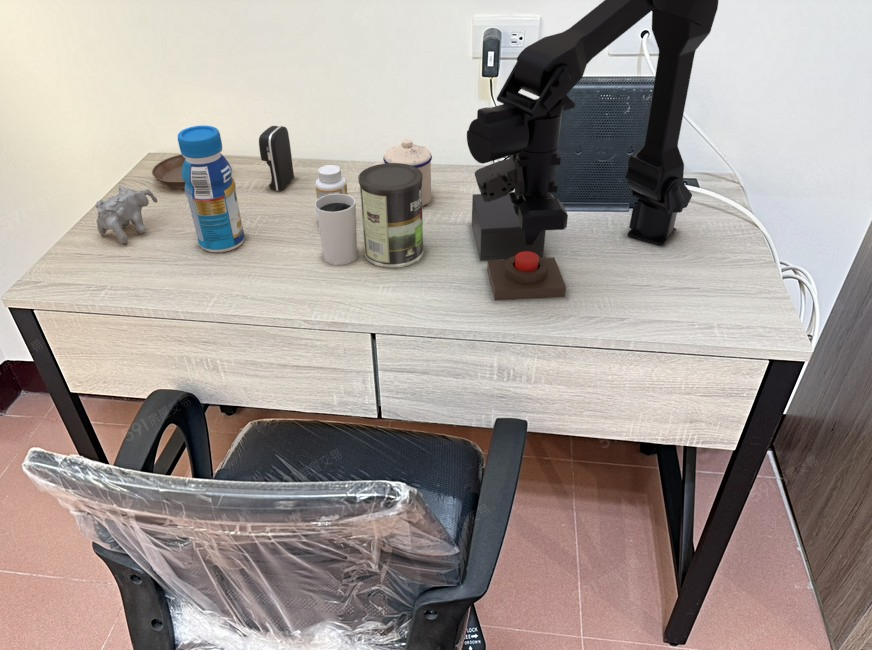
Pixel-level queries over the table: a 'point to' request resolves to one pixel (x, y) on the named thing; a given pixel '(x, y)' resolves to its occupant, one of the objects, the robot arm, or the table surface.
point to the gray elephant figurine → (122, 212)
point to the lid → (496, 214)
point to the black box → (503, 242)
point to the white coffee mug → (337, 228)
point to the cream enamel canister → (413, 163)
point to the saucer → (170, 172)
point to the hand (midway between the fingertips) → (528, 243)
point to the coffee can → (392, 214)
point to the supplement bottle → (330, 181)
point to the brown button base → (525, 280)
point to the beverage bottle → (210, 189)
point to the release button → (526, 261)
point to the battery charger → (277, 156)
